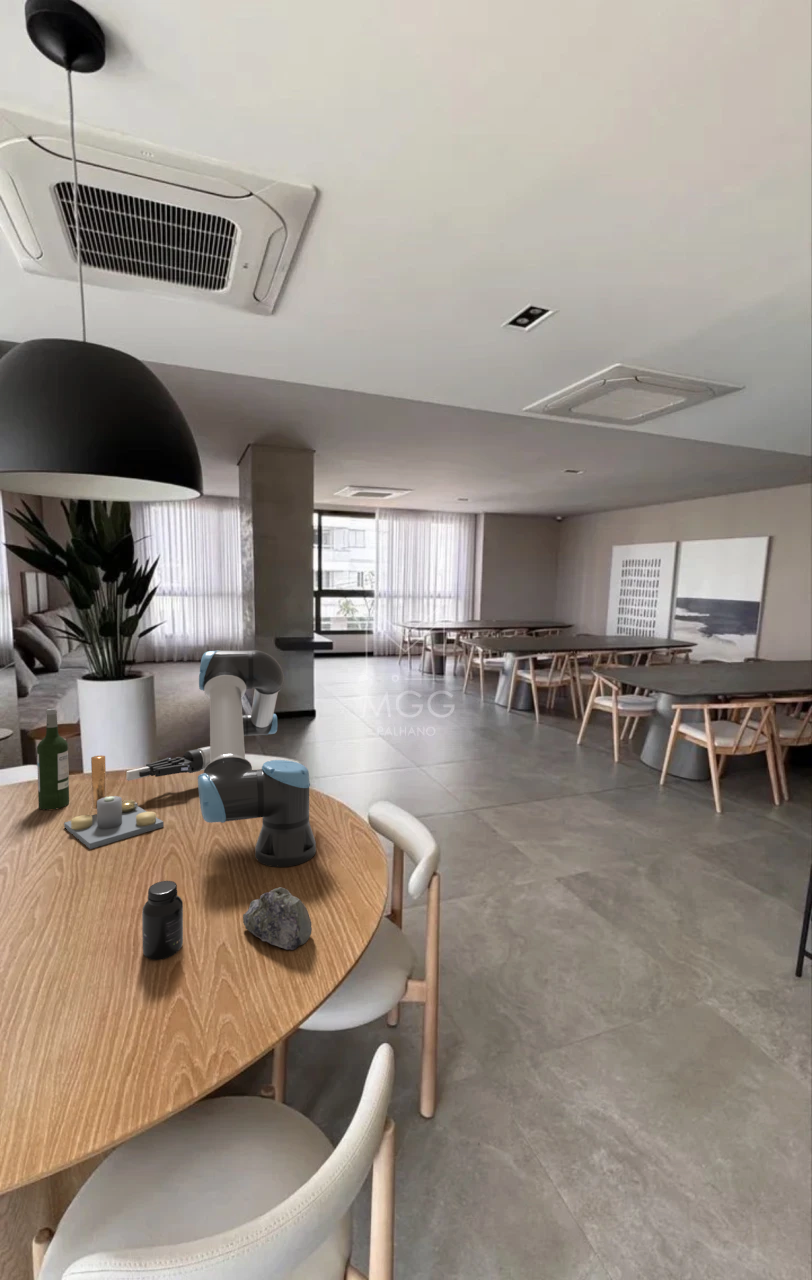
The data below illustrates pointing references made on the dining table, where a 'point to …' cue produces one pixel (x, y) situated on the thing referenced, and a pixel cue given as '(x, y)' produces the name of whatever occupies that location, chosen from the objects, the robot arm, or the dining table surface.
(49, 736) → the wine bottle
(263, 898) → the mineral rock
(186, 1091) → the dining table surface
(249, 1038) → the dining table surface
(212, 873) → the dining table surface
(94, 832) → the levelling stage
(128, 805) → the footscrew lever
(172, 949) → the supplement bottle
